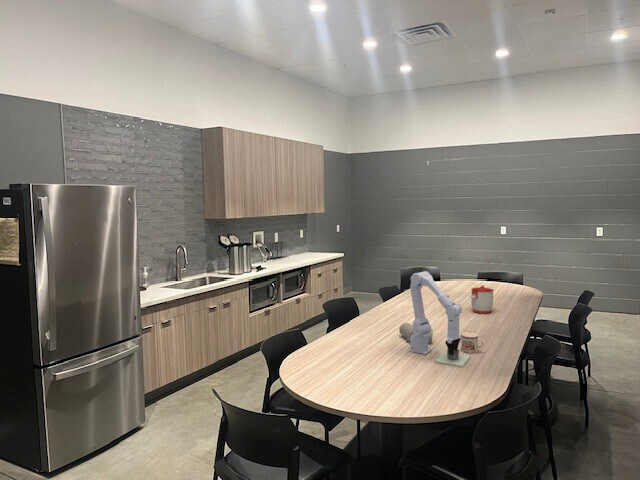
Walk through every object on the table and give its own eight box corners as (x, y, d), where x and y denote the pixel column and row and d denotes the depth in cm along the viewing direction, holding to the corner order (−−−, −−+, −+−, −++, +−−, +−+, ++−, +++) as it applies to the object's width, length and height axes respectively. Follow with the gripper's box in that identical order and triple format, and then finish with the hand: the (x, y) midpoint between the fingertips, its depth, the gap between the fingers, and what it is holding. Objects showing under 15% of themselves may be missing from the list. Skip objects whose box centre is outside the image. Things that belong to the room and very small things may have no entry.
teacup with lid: (458, 351, 260) (459, 331, 259) (462, 347, 268) (463, 327, 267) (481, 355, 254) (482, 334, 253) (484, 350, 262) (485, 329, 261)
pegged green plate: (434, 362, 243) (435, 352, 243) (444, 353, 257) (444, 343, 257) (462, 367, 236) (462, 356, 236) (470, 358, 250) (470, 347, 249)
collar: (446, 357, 245) (446, 350, 245) (448, 354, 250) (448, 347, 250) (457, 359, 243) (457, 351, 242) (459, 356, 248) (459, 349, 247)
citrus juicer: (464, 311, 350) (464, 284, 348) (482, 308, 357) (482, 282, 355) (479, 316, 336) (480, 288, 334) (497, 313, 343) (498, 286, 341)
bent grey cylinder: (396, 341, 276) (431, 344, 270) (397, 323, 277) (432, 325, 272) (399, 339, 293) (432, 341, 287) (400, 322, 294) (433, 324, 288)
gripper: (457, 332, 237) (457, 358, 238) (464, 325, 249) (464, 350, 250) (443, 330, 240) (443, 356, 242) (451, 323, 253) (451, 348, 254)
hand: (453, 353), depth 246 cm, fingers closed on collar, 6 cm apart
